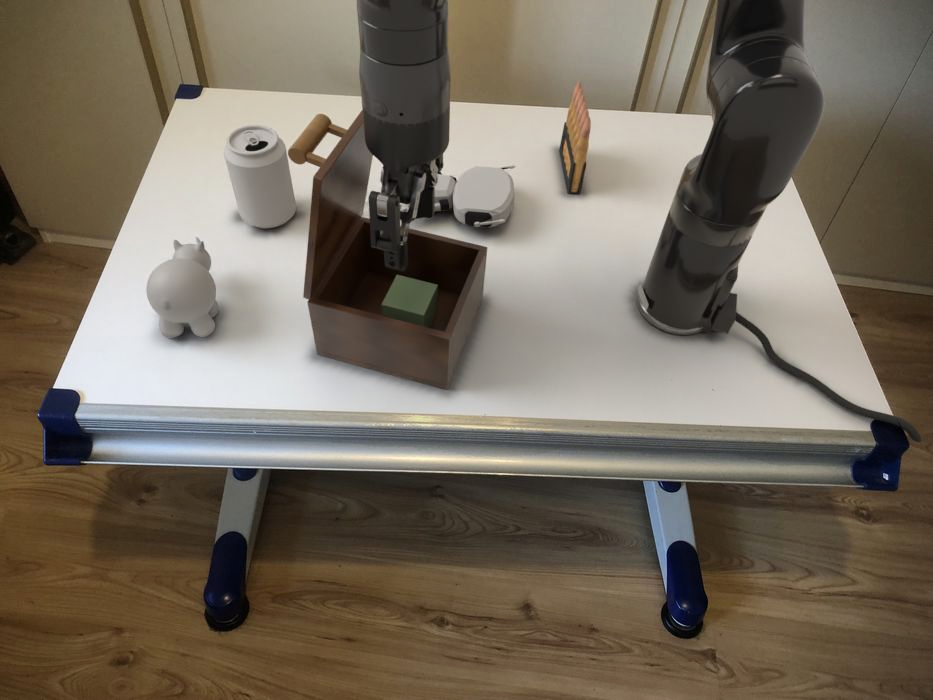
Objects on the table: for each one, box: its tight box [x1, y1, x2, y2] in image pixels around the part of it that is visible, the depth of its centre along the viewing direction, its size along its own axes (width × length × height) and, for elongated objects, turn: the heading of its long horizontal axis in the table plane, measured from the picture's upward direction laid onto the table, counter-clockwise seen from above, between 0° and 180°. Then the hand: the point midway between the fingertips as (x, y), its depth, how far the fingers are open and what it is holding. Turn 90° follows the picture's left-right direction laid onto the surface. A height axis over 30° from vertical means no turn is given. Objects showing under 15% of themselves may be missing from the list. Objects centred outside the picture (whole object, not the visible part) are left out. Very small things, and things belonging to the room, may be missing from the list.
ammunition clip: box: [558, 80, 592, 194], centre depth 98 cm, size 11×2×12 cm, turn 2°
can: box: [223, 124, 297, 229], centre depth 89 cm, size 8×8×12 cm
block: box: [381, 275, 438, 328], centre depth 79 cm, size 5×5×5 cm
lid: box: [287, 110, 374, 301], centre depth 69 cm, size 16×15×5 cm
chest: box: [307, 216, 488, 390], centre depth 78 cm, size 16×15×9 cm
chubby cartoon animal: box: [145, 236, 220, 339], centre depth 79 cm, size 7×12×8 cm, turn 179°
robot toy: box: [401, 164, 517, 229], centre depth 94 cm, size 12×4×15 cm
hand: (410, 240), depth 71 cm, fingers open, 8 cm apart
